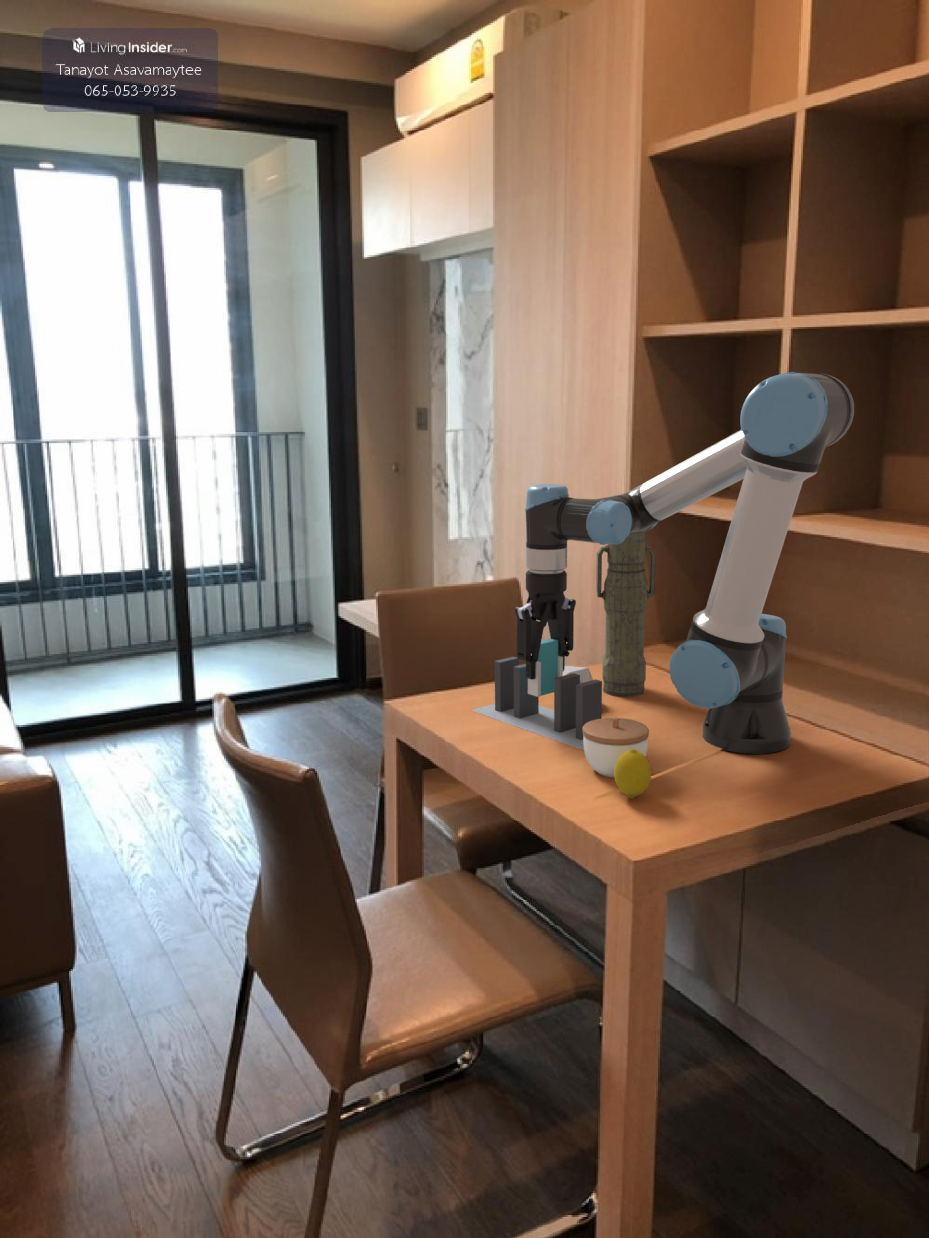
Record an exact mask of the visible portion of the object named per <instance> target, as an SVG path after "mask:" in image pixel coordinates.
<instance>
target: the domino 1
mask: <svg viewBox="0 0 929 1238" xmlns="http://www.w3.org/2000/svg"><path fill="white" fill-rule="evenodd" d="M518 665H520V659H518V658H517V656H516V657H515V656H509V657H505V658H501V659H498V660H497V659H496V660H494V704H495V710H496V711H499V712H503V711H506V710H510V709H513V708H514V666H518Z"/></svg>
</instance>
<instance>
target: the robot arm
mask: <svg viewBox="0 0 929 1238" xmlns="http://www.w3.org/2000/svg"><path fill="white" fill-rule="evenodd" d="M854 416H855V401H854V399H853V396H852V394H851V392H850V389H849V388H848V387H847V385H846V384H845V383H843V381H841V380H840V379H838V378H836V377H835V376H832V375H830V374H827V373H817V372H816V373H807V372H806V373H804V372H803V373H802V372H794V371H791V372H784V373H779V374H777V375H774V376H770V377H768V378H766V379H764V380H762V381H761V382H759V383H758V384H757V385H756V386H755V387H754V388H753V389H752V390H751V391H750V392H749V393H748V395H747V397H746V398H745V400H744V402H743V405H742V406H741V410H740V418H739V419H740V420H739V421H740V422H739V423H740V430H738V431H735V433H732V434H731V435H729V436H727V437H726V438H724V439H722V440H720V441H717V442H716V443H714V444H713V445H710V446H709V447H707V448H705V449H704V450H703V449H702V450H701V451H700V452H698V453H696V454H694V455H693V456H690V457H689V458H687V459H685V460H684V461H681V462H680V463H678V464H676V465H675V466H672V467H670V468H669V469H667V470H665V471H663V472H662V473H660V474H658V475H656V476H655V477H652V478H651V479H649V480H647V481H645V482H644V483H642V484H640V485H638V486H636V487H634V488H633V489H631V490H629V491H627V492H625V493H622V494H617V495H612V496H607V497H600V498H593V499H592V498H574V497H570V494H569V489H568V488H567V487H568V486H566V485H563V484H557V483H556V484H555V483H554V484H552V483H551V484H548V483H543V484H535V485H531V486H530V487H528V489H527V491H526V502H525V503H526V505H525V506H526V507H525V510H524V512H525V528H526V529H525V530H526V532H525V533H526V536H525V537H526V538H525V539H526V541H525V542H526V544H525V568H526V569H528V570H527V571H526V572H525V590H526V592H527V594H528V597H527V599H526V604H524V605H523V606H515V609H514V613H515V616H516V624H517V625H516V628H517V629H516V657H517V658H518V659H519V660H522V661H524V662H525V664H526V678H528V694H530V695H533V696H537V697H539V698H540V697H542V696H541V662H538V661H537V660H538V655H539V650H540V645H541V641H543V640H542V639H543V636H544V635H543V634H544V628H545V627H546V626H548V631H549V636H550V639H556V640H558V677H561V676H563V671H564V669H565V666H566V664H565V661H566V659H565V657H569V656H570V652H572V651H573V650H574V636H575V635H574V629H575V628H574V622H575V621H574V612H575V608H576V605H577V601H576V599H573V598H568V597H566V596H565V593H564V592H566V591H567V588H568V587H567V585H568V583H567V582H568V573H567V572H566V569H567V568H568V541H576V542H584V543H593V544H599V545H602V546H606V545H608V544H620V543H622V542H623V541H624V540H625V538H627V537H628V535H631V534H639V533H643V532H644V533H645V532H647V531H649V530H652V529H654V528H655V526H657V524H658V523H659V522H661V521H663V520H665V519H667V518H669V517H671V516H673V515H675V514H678V513H679V512H681V511H682V510H684V509H687V508H689V507H691V506H693V505H695V504H696V503H698V502H701V501H703V500H704V499H706V498H709V497H710V496H712V495H715V494H717V493H719V492H720V491H722V490H724V489H726V488H729V487H731V486H732V485H734V484H736V483H738V482H740V481H742V484H741V487H740V491H739V493H738V497H737V501H736V504H735V507H734V510H733V515H732V518H731V522H730V525H729V529H728V532H727V535H726V538H725V542H724V545H723V549H722V552H721V556H720V558H719V562H718V565H717V569H716V572H715V576H714V578H713V579H714V580H713V583H712V586H711V590H710V593H709V596H708V599H707V603H706V606H705V608H704V609H703V610H700V611H698V612H696V613H695V614H694V615H693V618H692V620H691V622H690V623H691V624H690V628H689V631H688V634H687V637H686V640H685V641H684V642H683V643H680V644H679V645H678V646H677V648H676V649H675V650H674V651H673V653H672V655H671V657H670V660H669V665H668V666H669V677H670V681H671V683H672V685H674V687H675V689H676V692H677V693H678V694H679V695H680V696H681V697H682V698H683V699H684V700H685V701H686V702H688V703H689V704H691V705H694V706H695V707H698V708H701V709H708V711H707V714H706V717H705V720H704V721H703V724H702V738H703V740H704V741H706V742H707V743H708V744H710V745H711V746H714V747H717V748H719V749H721V750H724V751H727V752H732V753H739V754H749V755H751V754H753V755H754V754H755V755H756V754H761V755H762V754H771V753H777V752H781V751H784V750H785V749H788V748H789V746H790V745H791V735H792V731H791V726H790V725H789V720H788V717H787V712H786V710H785V706H784V702H783V693H784V692H783V691H784V690H783V689H784V680H785V679H784V677H785V675H784V674H785V663H786V662H785V661H786V660H785V659H786V647H787V646H786V645H787V639H788V636H787V630H786V629H787V624H786V622H785V620H784V619H783V618H782V617H780V616H776V615H772V614H765V613H763V611H764V610H763V609H764V606H765V603H766V600H767V597H768V593H769V590H770V587H771V585H772V581H773V578H774V576H775V575H774V574H775V572H776V568H777V565H778V561H779V559H780V557H781V553H782V549H783V547H784V543H785V540H786V537H787V534H788V531H789V528H790V527H789V526H790V524H791V522H792V521H791V520H792V517H793V515H794V511H795V508H796V505H797V502H798V500H799V496H800V492H801V490H802V486H803V483H804V482H805V481H806V480H807V479H809V478H811V477H813V476H815V475H816V474H817V473H818V470H819V467H820V465H821V462H822V458H823V455H824V452H825V449H826V448H827V447H829V446H832V445H834V444H835V443H837V442H839V440H840V439H842V437H844V436H845V435H846V433H847V431H848V430H849V428H850V427H851V425H852V422H853V420H854Z"/></svg>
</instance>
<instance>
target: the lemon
mask: <svg viewBox="0 0 929 1238" xmlns="http://www.w3.org/2000/svg"><path fill="white" fill-rule="evenodd" d="M649 761H650V760H648V758H647V757H645V755H643V754H642V753H641V752H639V751H636V750H635V749H631V750H629V751H626V752H624V753H623V754H621V755H620V756H619V758H618V760H617V762H616V765H615V770H614V777H613V778H614V781H615V785H616V787H617V789H618V790H619V791H621V793H622V794H625V795H627V796H628V797H629V798H630V799H634V798H636V797H637V796H639V795H642V794H643V793H644V792H645V791H647V789H648V788H649V785H650V783H651V778H652V771H651V765H650V762H649Z"/></svg>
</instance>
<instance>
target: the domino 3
mask: <svg viewBox="0 0 929 1238" xmlns="http://www.w3.org/2000/svg"><path fill="white" fill-rule="evenodd" d="M577 684H580V675H578V674H575V673H573V674H569V675H565V676H561V677H558V678H554V692H553V694H554V697H553V698H554V699H553V702H554V703H553V704H554V705H553V706H554V707H553V710H554V731H557V732H560V733H561V732H564V731H568V730H571V729H574V728H576V685H577Z"/></svg>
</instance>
